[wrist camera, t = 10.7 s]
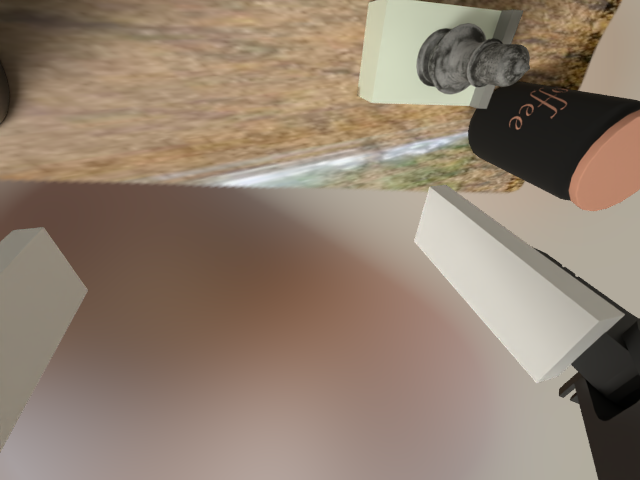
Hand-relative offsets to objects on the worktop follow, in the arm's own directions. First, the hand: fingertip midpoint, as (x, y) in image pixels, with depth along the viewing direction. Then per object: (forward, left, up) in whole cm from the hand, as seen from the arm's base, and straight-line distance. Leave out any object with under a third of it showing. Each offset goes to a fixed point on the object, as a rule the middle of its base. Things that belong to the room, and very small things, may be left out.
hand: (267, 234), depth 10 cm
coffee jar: (+30, +19, -29) cm, 46 cm away
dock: (+13, +16, -28) cm, 35 cm away
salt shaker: (+13, +16, -24) cm, 32 cm away
